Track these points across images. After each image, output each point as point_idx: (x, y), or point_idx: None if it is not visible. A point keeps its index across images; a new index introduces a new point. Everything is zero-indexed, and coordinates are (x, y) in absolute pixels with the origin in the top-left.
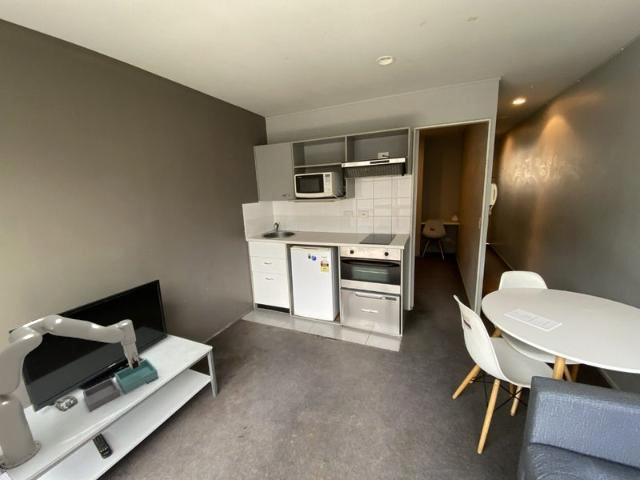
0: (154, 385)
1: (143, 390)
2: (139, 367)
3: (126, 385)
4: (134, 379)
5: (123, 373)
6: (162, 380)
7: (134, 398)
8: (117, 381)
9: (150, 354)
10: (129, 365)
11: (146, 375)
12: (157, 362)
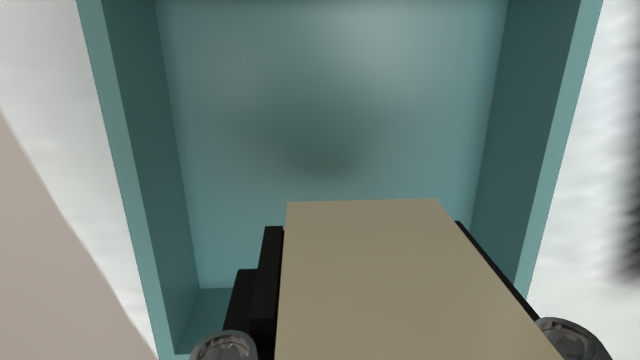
0: (97, 235)
1: (90, 143)
2: (485, 234)
3: (79, 4)
4: (345, 133)
5: (532, 71)
6: (123, 299)
7: (5, 35)
8: None
9: (632, 336)
10: (438, 208)
11: (141, 265)
12: None
